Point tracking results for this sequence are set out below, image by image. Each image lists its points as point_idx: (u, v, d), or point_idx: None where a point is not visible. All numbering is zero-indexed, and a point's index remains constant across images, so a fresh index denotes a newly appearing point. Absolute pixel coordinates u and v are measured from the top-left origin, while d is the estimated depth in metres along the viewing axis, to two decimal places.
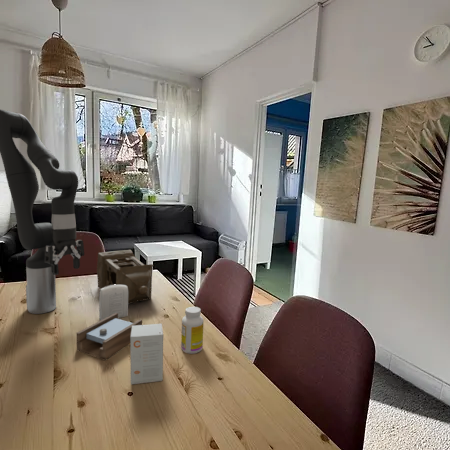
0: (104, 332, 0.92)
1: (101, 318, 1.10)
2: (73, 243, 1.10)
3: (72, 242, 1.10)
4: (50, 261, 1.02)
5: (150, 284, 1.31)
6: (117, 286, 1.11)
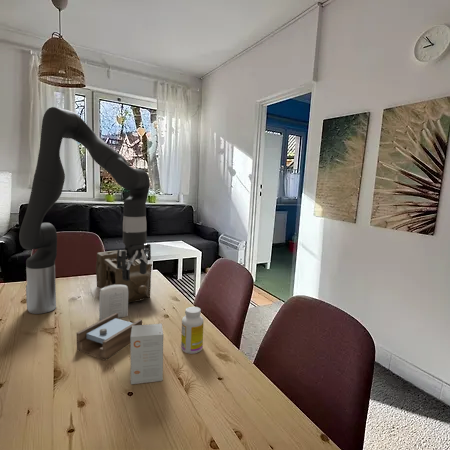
0: (104, 332, 0.92)
1: (101, 318, 1.10)
2: (142, 247, 1.04)
3: (141, 246, 1.03)
4: (123, 266, 0.96)
5: (149, 283, 1.32)
6: (117, 286, 1.11)
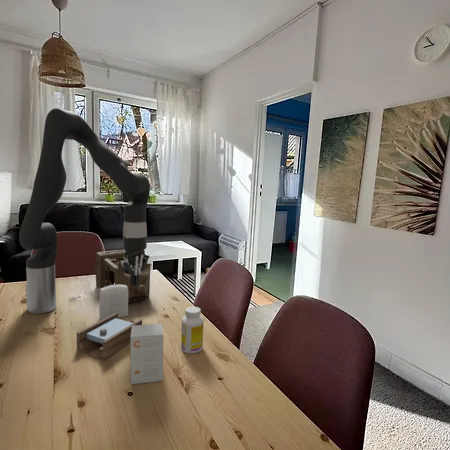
0: (104, 332, 0.92)
1: (101, 318, 1.10)
2: (143, 251, 1.04)
3: (143, 249, 1.04)
4: (131, 272, 1.00)
5: (148, 283, 1.32)
6: (117, 286, 1.11)
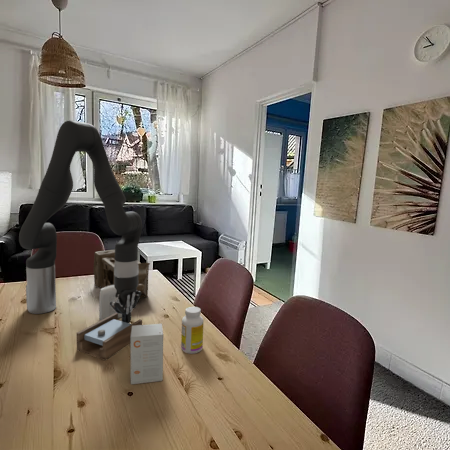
0: (102, 333, 0.91)
1: (101, 318, 1.10)
2: (134, 288, 1.02)
3: None
4: (123, 312, 0.98)
5: (147, 282, 1.33)
6: None
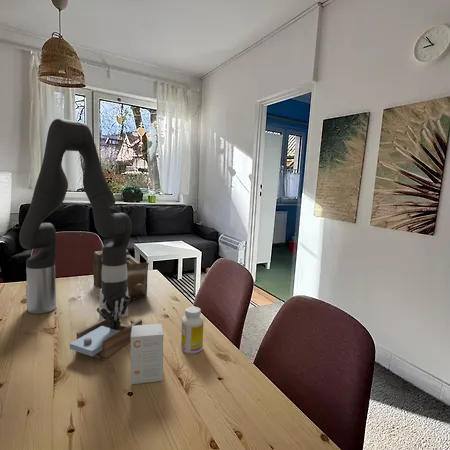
0: (89, 342, 0.86)
1: (101, 318, 1.10)
2: (123, 294, 0.98)
3: None
4: (111, 318, 0.93)
5: (146, 282, 1.33)
6: None
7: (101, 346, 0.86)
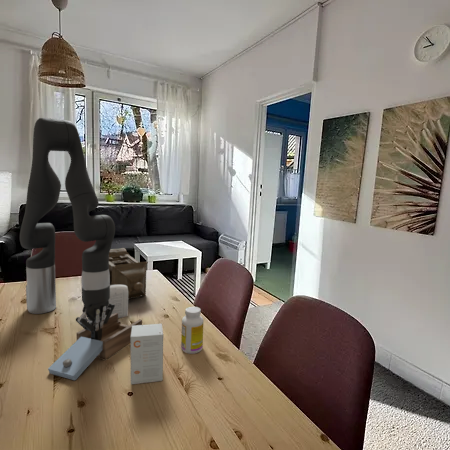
0: (68, 364, 0.79)
1: None
2: (106, 302, 0.91)
3: None
4: (91, 328, 0.86)
5: (144, 281, 1.35)
6: (117, 286, 1.11)
7: (83, 366, 0.80)
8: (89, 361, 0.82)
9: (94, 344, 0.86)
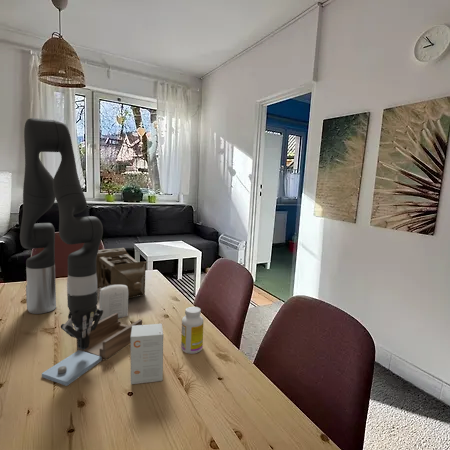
0: (63, 371, 0.78)
1: (101, 318, 1.10)
2: (94, 307, 0.87)
3: None
4: (77, 336, 0.82)
5: (144, 281, 1.35)
6: (117, 286, 1.11)
7: (77, 375, 0.78)
8: (83, 372, 0.81)
9: (91, 357, 0.86)
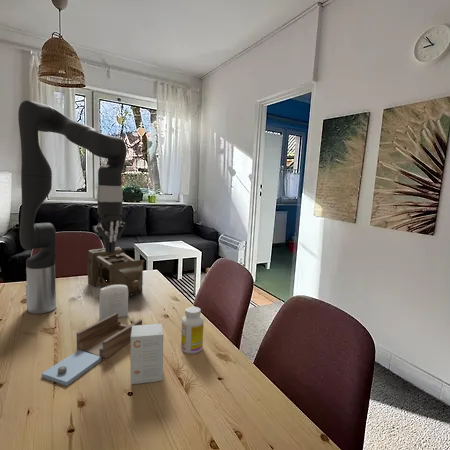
0: (63, 371, 0.78)
1: (101, 318, 1.10)
2: (119, 218, 1.01)
3: (119, 216, 1.01)
4: (106, 238, 0.96)
5: (141, 279, 1.37)
6: (117, 286, 1.11)
7: (77, 375, 0.79)
8: (83, 372, 0.81)
9: (91, 357, 0.86)
